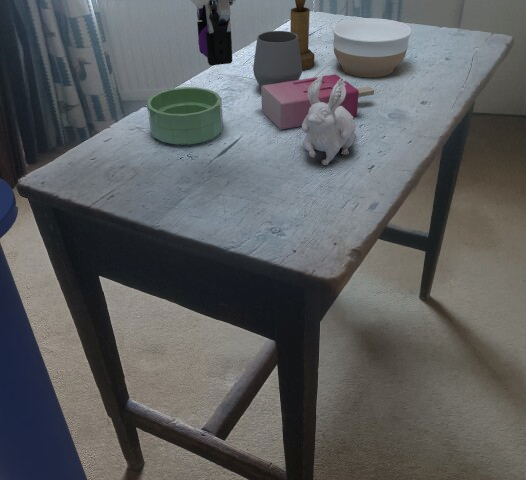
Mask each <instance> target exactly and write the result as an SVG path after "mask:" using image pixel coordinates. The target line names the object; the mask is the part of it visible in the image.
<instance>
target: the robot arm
mask: <svg viewBox="0 0 526 480" xmlns="http://www.w3.org/2000/svg"><path fill="white" fill-rule="evenodd" d="M236 1H237V0H190V2H192V4H194V6H195V7H196V17H197V22H196V24H197V36H198V37H197V38H198V39H199V35H200V33H201V31H202V29H203V28H204V27H206V26H208V32H206V45H207V57H206V58H207V63H208V66H212V67H213V66H220V65H231V64H232V62H233V40H231V39H232V24H231V14H232V13H231V6H233V5H234V4H235V3H236ZM198 50H199V52H200V54H202V55H203V53H202V52H201V50H200V48H199V47H198Z"/></svg>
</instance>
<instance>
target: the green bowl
mask: <svg viewBox="0 0 526 480" xmlns="http://www.w3.org/2000/svg"><path fill="white" fill-rule="evenodd" d="M146 109H147V115H148V121H149V123H148V124H149V129H150V133H151V135H152V137H153V138H154V139H157V140H158V141H160V142H163V143H167V144H172V145H183V146H185V145H195V144H200V143H203V142H206V141H209V140H212V139H215V138H216V137H217V136H218V135H220V134H221V133H222V132H223V128H224V120H223V119H224V118H223V115H224V114H223V102H222V97H221V96H220V94H219V93H218V92H215V91H213V90H211V89H209V88H202V87H193V86H192V87H190V86H185V87H184V86H183V87H176V88H175V87H174V88H169V89H166V90H162V91H159V92H156V93H155V94H153V95H152V96H150V97H149V99H148V100H147V101H146Z"/></svg>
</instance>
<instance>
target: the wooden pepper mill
mask: <svg viewBox="0 0 526 480" xmlns="http://www.w3.org/2000/svg"><path fill="white" fill-rule="evenodd" d="M306 1H307V0H294V3H295V7H293V8H291V9H290V31H289V32H292V33H295V34H296V35H297V36H298V42H299V49H300V56H301V63H302V71H307V70H310V69H312V68H314V67H315V53H314V52H313V51H312V50H311V49H309V43H310V42H309V37H310V15H311V12H310V11H311V9H310V8H309V7H305V5H306Z"/></svg>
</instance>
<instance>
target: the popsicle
mask: <svg viewBox="0 0 526 480" xmlns="http://www.w3.org/2000/svg"><path fill="white" fill-rule="evenodd" d="M318 77H319V76H315V77H309V78H302V79H299V80H295V81H289V82H283V83H276V84H270V85H263V86H262V87H261V88H260V91H261V93H260V95H261V111H262V113H263V114H264V115H265V116H266V117H267V118H268V119H269V120H270V121H271V122H272V124H274V125H275V126H276V127H277V128H278V129H279V130H281V131H282V130H288V129H294V128H297V127H298V128H300V127H302V124H303V122H304V119H305V118H306V116H307V115H308V111H309V108H310V107H311V104H310V102H309V99H308V88H309V86H310V85H311V84H312V82H314V81H315V80H317V79H318ZM340 78H342V77H341V76H339V75H338V74H336V73H333V74H328V75H323V78H322V85H321V87H320V91H319V96H318V99H319V101H320V102H324V103H326V104H328V103H329V99H330V95H331V92H332V89H333V87H334V86H335V85H336V83H337V81H339V79H340ZM342 80H344V79H343V78H342ZM342 80H341V81H342ZM344 83H345V84H346V85H345V89H346V96H345V99H344V101H343V102H342V103H341V104H340V105H339V106H343V107H344V108H345V109H346V110H347V111H348V112H349V113H350V114H351V116H353V118H355V117H357V116H358V106H359V98H363V97H368V96H369V97H370V96H373V95H375V88H373V87H371V86H368V85H367V86H362V87H356V86H354V85H352V84H351V83H349V82H348V81H346V80H345V82H344ZM339 106H338V107H339Z"/></svg>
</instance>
